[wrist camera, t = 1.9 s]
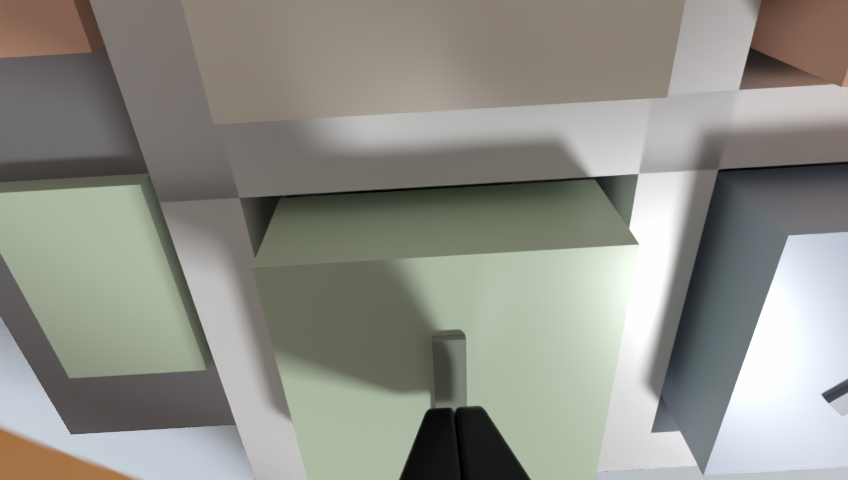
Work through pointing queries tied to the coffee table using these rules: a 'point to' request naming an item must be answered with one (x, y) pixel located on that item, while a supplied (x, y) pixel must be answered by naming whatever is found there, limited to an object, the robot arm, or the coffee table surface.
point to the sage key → (447, 320)
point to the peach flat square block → (806, 36)
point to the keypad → (319, 176)
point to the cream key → (426, 54)
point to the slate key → (766, 325)
